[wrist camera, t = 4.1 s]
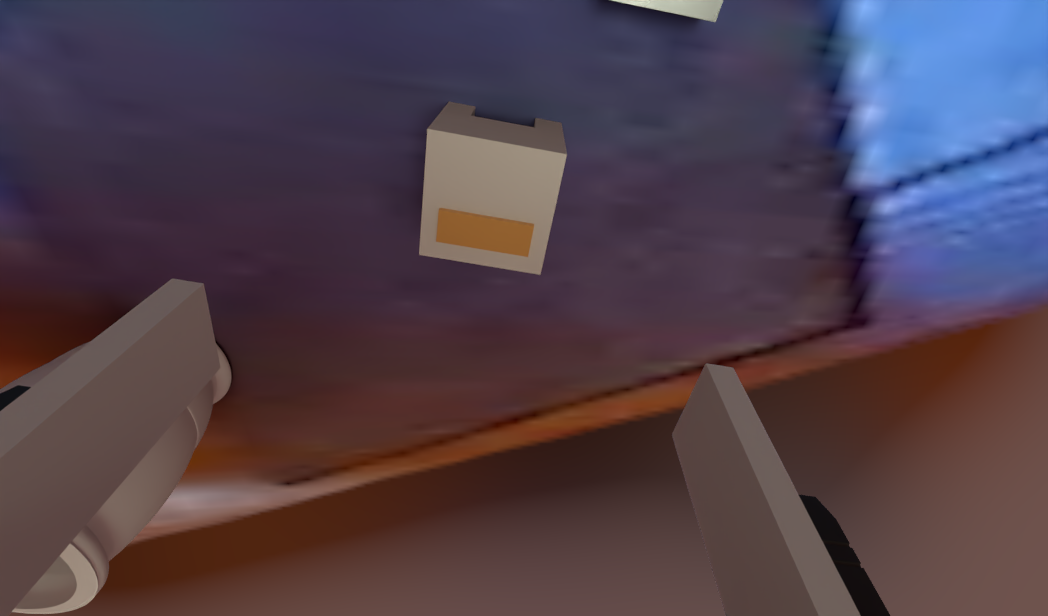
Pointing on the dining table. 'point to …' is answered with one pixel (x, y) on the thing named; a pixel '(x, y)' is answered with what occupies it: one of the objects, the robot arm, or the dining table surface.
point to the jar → (121, 501)
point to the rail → (682, 7)
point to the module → (490, 189)
